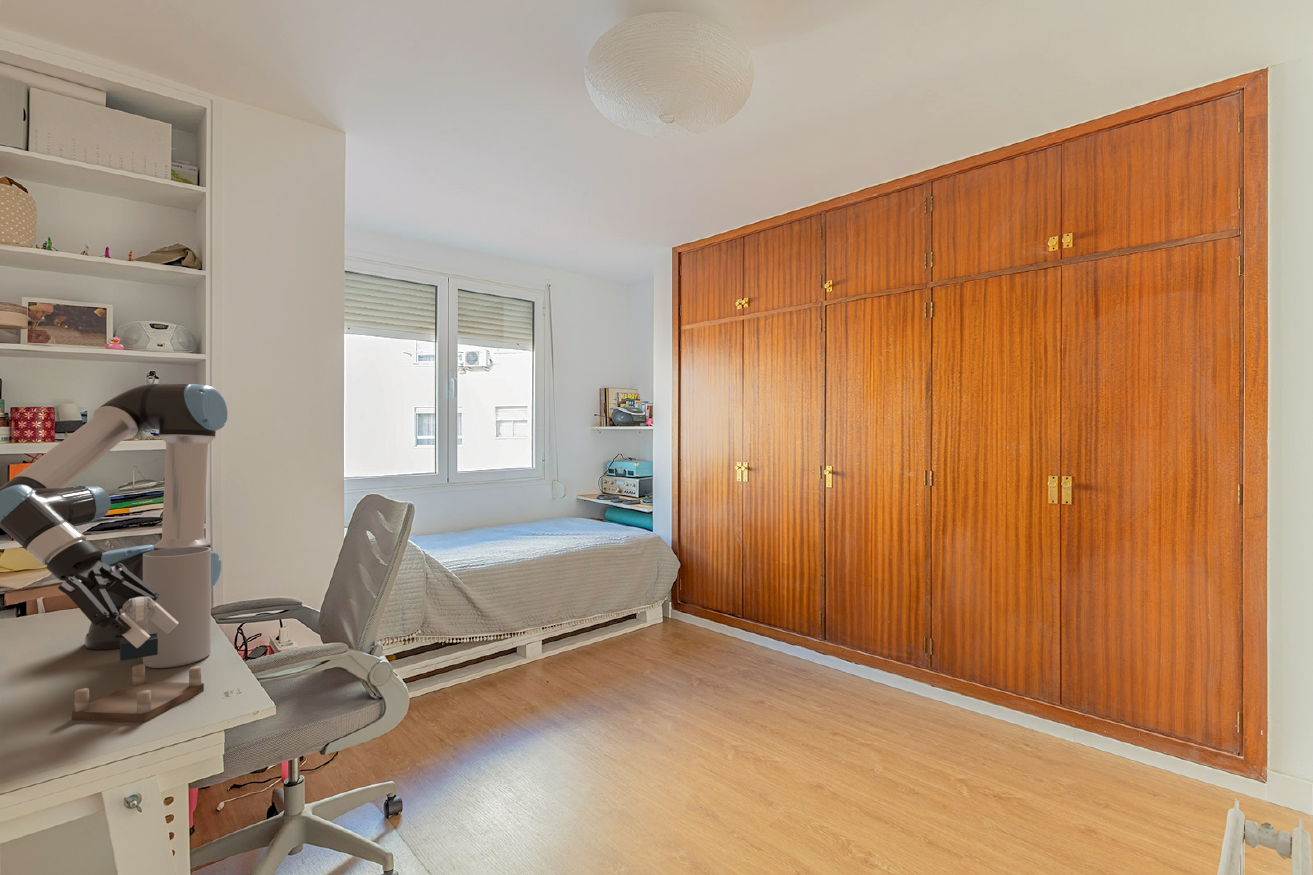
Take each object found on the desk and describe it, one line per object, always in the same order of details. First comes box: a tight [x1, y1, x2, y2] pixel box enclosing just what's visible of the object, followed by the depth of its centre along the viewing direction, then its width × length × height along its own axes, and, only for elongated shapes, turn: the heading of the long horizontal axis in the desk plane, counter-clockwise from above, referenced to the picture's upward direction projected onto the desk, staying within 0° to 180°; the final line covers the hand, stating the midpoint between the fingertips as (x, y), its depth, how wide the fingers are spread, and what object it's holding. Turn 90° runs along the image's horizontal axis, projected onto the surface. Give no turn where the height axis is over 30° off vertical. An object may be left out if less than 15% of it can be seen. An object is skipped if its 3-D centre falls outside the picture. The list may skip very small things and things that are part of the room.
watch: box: [119, 597, 158, 662], centre depth 122 cm, size 6×8×11 cm
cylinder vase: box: [142, 547, 212, 669], centre depth 146 cm, size 12×12×25 cm
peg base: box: [70, 663, 205, 723], centre depth 122 cm, size 14×14×5 cm
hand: (158, 635), depth 122 cm, fingers closed on watch, 8 cm apart
